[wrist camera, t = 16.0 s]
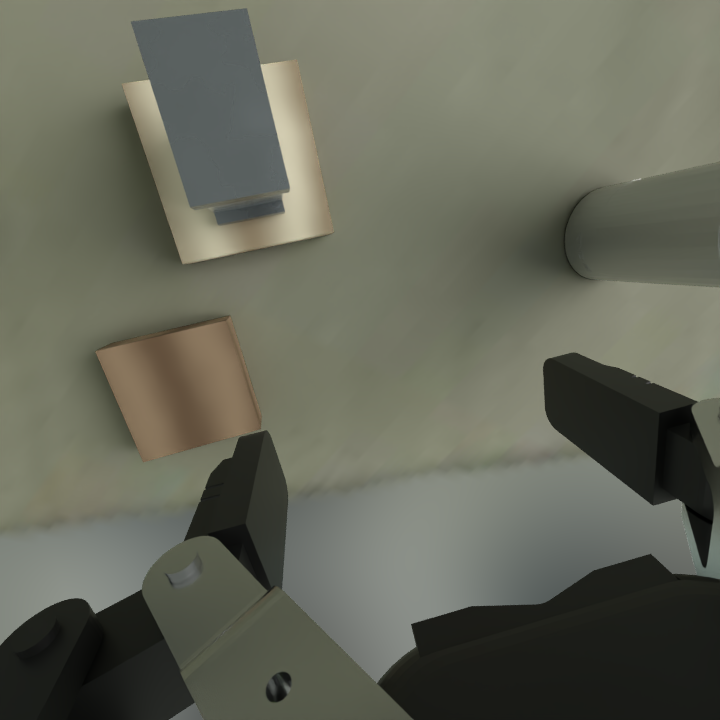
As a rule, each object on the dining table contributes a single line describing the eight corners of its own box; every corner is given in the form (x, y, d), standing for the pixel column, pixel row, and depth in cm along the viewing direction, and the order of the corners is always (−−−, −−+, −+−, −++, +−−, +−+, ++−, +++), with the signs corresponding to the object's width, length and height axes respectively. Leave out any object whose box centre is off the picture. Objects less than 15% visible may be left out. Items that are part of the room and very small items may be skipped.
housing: (257, 102, 27) (246, 8, 17) (284, 213, 29) (290, 188, 19) (186, 113, 26) (130, 21, 16) (220, 226, 29) (189, 207, 18)
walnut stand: (230, 315, 33) (226, 320, 30) (261, 415, 36) (260, 429, 33) (111, 343, 32) (95, 351, 29) (154, 445, 35) (143, 462, 32)
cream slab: (294, 78, 30) (296, 59, 27) (328, 234, 33) (334, 232, 31) (137, 101, 28) (121, 83, 25) (190, 263, 32) (182, 264, 29)
